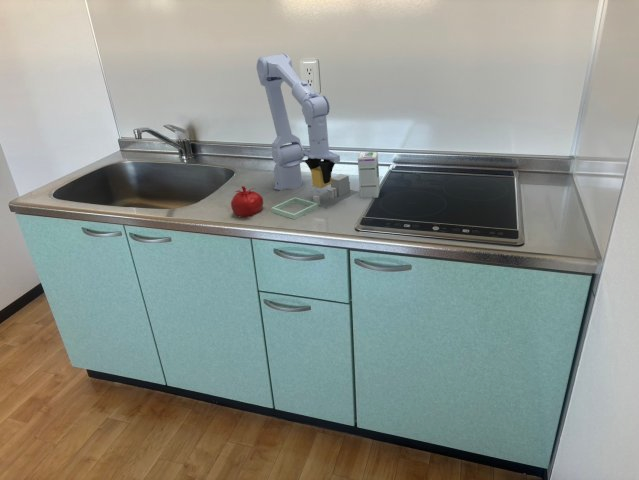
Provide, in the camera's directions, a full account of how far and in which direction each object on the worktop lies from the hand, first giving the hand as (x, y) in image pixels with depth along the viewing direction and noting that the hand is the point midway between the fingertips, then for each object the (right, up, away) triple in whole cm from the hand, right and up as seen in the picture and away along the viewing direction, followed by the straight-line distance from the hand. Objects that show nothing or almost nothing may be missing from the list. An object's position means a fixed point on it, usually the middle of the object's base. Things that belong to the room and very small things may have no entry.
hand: (322, 181), depth 152 cm
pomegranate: (-23, -10, +3) cm, 25 cm away
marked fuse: (0, -1, 0) cm, 1 cm away
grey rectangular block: (+6, -3, +8) cm, 10 cm away
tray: (-8, -10, -1) cm, 13 cm away
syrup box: (+15, -5, +5) cm, 17 cm away
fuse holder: (+3, -5, +6) cm, 9 cm away
